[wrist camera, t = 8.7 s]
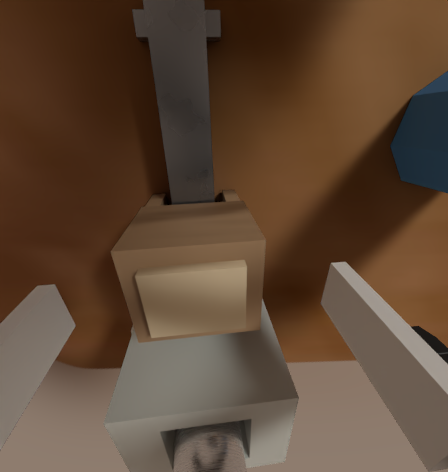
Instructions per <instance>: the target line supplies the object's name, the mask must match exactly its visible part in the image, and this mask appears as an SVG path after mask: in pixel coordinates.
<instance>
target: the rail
mask: <svg viewBox="0 0 448 472" xmlns="http://www.w3.org/2000/svg"><path fill="white" fill-rule="evenodd" d="M143 5H144V9H132V12H133V18H134V25H135V31H136V37H137V38H138V40H139V41H140V42H149V47H150V54H151V61H152V68H153V75H154V82H155V89H156V96H157V103H158V110H159V117H160V124H161V131H162V138H163V145H164V152H165V159H166V166H167V172H168V179H169V186H170V193H171V200H172V205H180V204H196V203H212V202H215V200H214V180H213V161H212V141H211V122H210V103H209V83H208V64H207V44H206V41H220V38H221V24H220V10H205V5H204V0H143Z"/></svg>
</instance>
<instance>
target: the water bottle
mask: <svg viewBox="0 0 448 472" xmlns="http://www.w3.org/2000/svg"><path fill="white" fill-rule="evenodd" d="M390 147H391V150H392V153H393V156H394V159H395V163H396V166H397V169H398V172H399V175H400V179H401V181H405V182H409V183H412V184H416V185H420V186H423V187H427V188H431V189H434V190H438V191H442V192H445V193H448V71H447V72H446V73H444V74H443V75H441V76H440V77H439V78H437V79H436V80H434V81H433V82H432V83H430V84H429V85H427V86H426V87H424V88H423V89H422V90H420V91H419V92H417V93H416V94H415V95H413V97H412V99H411V101H410V103H409V105H408V108H407V110H406V112H405V114H404V117H403V119H402V121H401V123H400V125H399V128H398V130H397V132H396V134H395V137H394V139H393V141H392V143H391V145H390Z"/></svg>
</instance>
